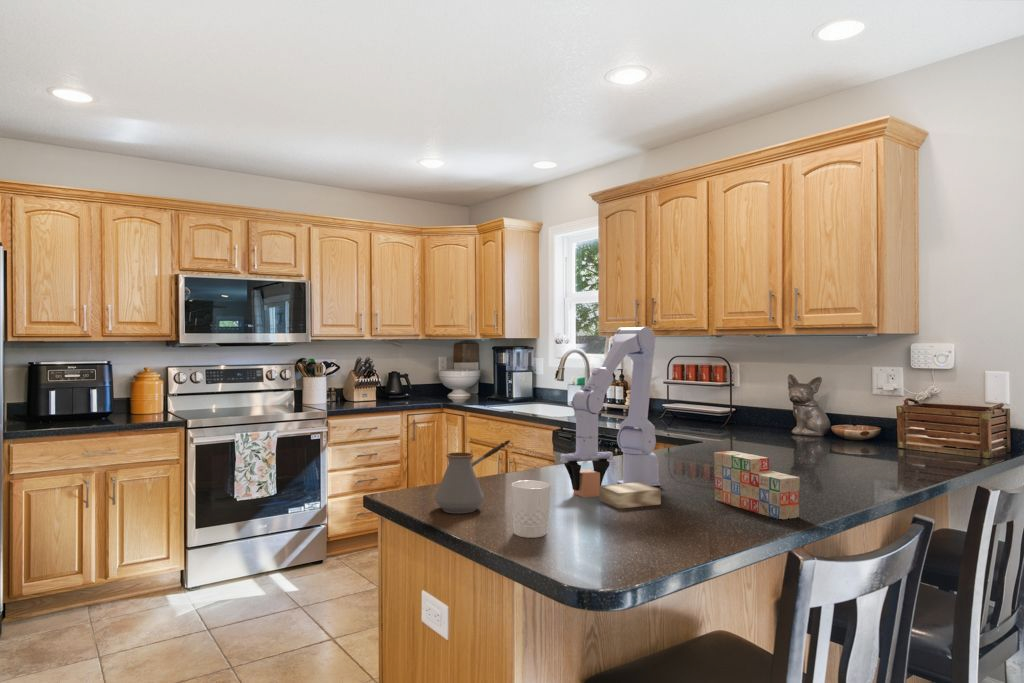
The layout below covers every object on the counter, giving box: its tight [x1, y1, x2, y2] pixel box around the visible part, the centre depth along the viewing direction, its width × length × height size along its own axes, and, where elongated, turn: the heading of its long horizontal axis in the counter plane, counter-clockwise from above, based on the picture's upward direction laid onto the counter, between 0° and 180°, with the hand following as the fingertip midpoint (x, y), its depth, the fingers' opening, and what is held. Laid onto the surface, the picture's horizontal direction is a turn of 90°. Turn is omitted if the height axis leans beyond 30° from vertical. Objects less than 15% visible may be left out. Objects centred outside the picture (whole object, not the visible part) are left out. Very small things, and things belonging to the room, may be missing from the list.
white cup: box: [510, 479, 551, 539], centre depth 131 cm, size 8×8×10 cm
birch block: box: [598, 482, 662, 509], centre depth 159 cm, size 12×9×4 cm
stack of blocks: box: [713, 450, 801, 520], centre depth 154 cm, size 21×6×12 cm, turn 23°
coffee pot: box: [434, 439, 514, 514], centre depth 153 cm, size 21×12×15 cm, turn 130°
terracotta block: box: [573, 468, 600, 498], centre depth 166 cm, size 5×5×6 cm
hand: (586, 489), depth 166 cm, fingers open, 6 cm apart
